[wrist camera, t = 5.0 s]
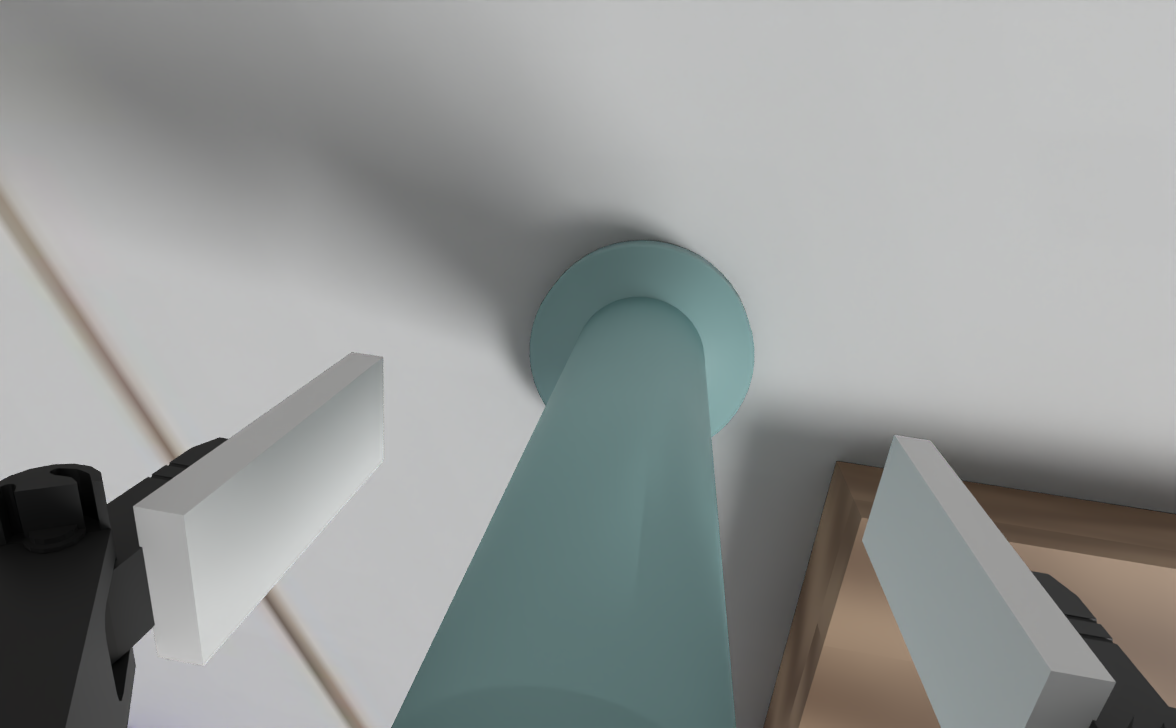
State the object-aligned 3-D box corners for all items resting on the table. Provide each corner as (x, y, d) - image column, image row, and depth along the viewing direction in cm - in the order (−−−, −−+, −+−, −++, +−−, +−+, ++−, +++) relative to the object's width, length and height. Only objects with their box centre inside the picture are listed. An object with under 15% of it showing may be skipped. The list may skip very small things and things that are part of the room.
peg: (546, 226, 21) (207, 492, 6) (771, 255, 20) (1007, 633, 5) (529, 425, 23) (261, 958, 9) (729, 456, 23) (812, 1090, 8)
